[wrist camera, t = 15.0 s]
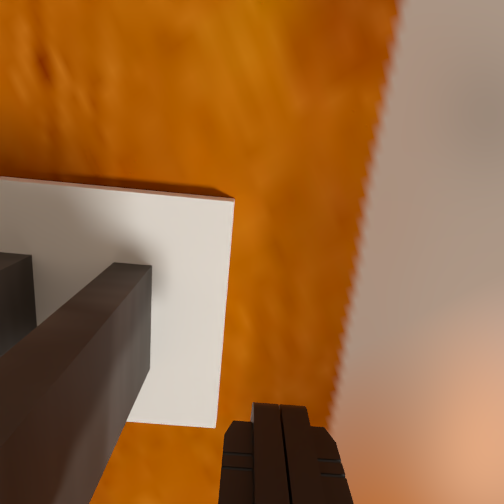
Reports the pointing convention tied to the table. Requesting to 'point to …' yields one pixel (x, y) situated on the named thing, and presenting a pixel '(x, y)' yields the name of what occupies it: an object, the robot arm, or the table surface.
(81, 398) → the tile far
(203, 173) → the table surface
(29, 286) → the tile
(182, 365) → the board
